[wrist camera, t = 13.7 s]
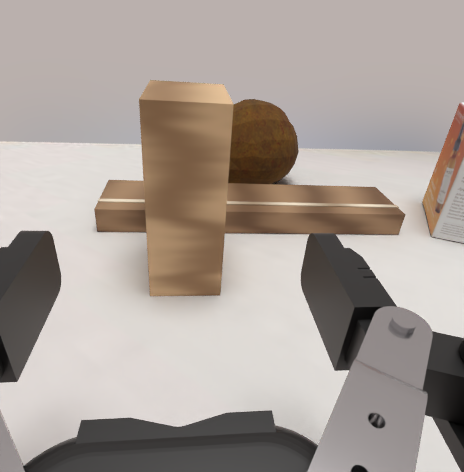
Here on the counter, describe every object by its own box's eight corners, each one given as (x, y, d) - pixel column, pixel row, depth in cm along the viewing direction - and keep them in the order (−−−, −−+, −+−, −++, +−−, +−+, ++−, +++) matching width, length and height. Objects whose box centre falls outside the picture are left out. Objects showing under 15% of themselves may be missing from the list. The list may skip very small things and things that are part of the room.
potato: (181, 168, 43) (181, 90, 39) (276, 166, 46) (286, 93, 42) (192, 199, 36) (194, 108, 32) (303, 194, 39) (319, 110, 35)
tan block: (210, 211, 34) (217, 71, 28) (220, 295, 24) (233, 104, 18) (161, 210, 34) (157, 68, 28) (149, 296, 23) (138, 99, 17)
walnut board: (370, 204, 38) (375, 186, 37) (398, 234, 33) (405, 213, 32) (110, 199, 35) (108, 179, 34) (97, 231, 30) (94, 208, 29)
